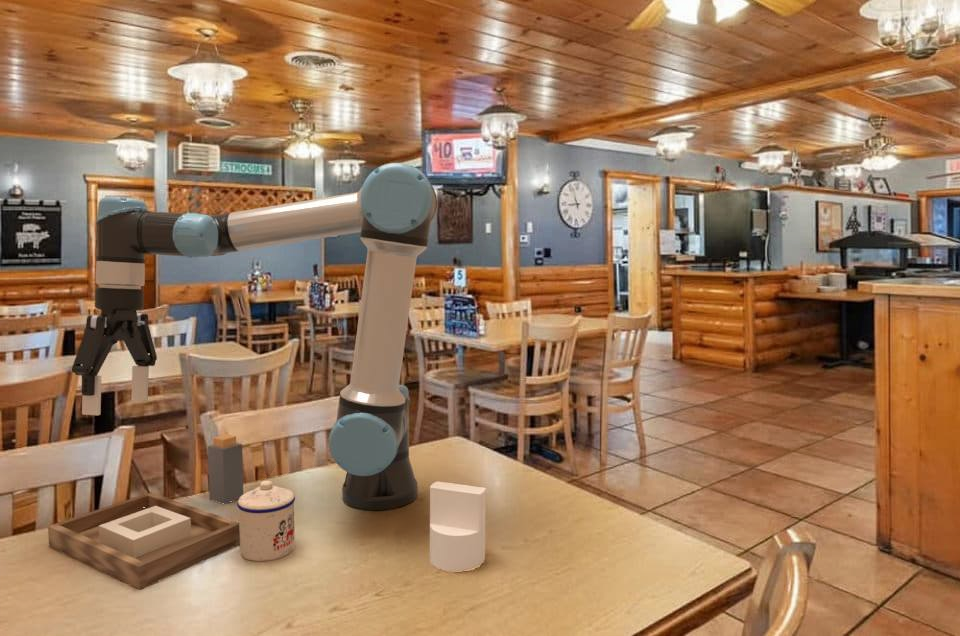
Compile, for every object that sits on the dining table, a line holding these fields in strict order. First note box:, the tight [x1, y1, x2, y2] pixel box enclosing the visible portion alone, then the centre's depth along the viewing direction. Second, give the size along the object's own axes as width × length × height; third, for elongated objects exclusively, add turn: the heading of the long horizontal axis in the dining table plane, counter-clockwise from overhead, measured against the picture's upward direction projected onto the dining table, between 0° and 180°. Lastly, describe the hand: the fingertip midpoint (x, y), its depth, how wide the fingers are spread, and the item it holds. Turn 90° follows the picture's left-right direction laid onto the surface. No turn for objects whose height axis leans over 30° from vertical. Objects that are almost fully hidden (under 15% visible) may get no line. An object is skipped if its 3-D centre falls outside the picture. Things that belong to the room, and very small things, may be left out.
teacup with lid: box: [236, 480, 296, 562], centre depth 109 cm, size 12×9×12 cm
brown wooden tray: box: [47, 491, 240, 591], centre depth 109 cm, size 26×18×4 cm
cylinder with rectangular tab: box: [429, 480, 487, 573], centre depth 105 cm, size 9×9×12 cm
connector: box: [207, 433, 244, 505], centre depth 129 cm, size 4×4×13 cm
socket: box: [99, 506, 191, 558], centre depth 109 cm, size 10×10×3 cm
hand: (116, 407), depth 115 cm, fingers open, 13 cm apart
